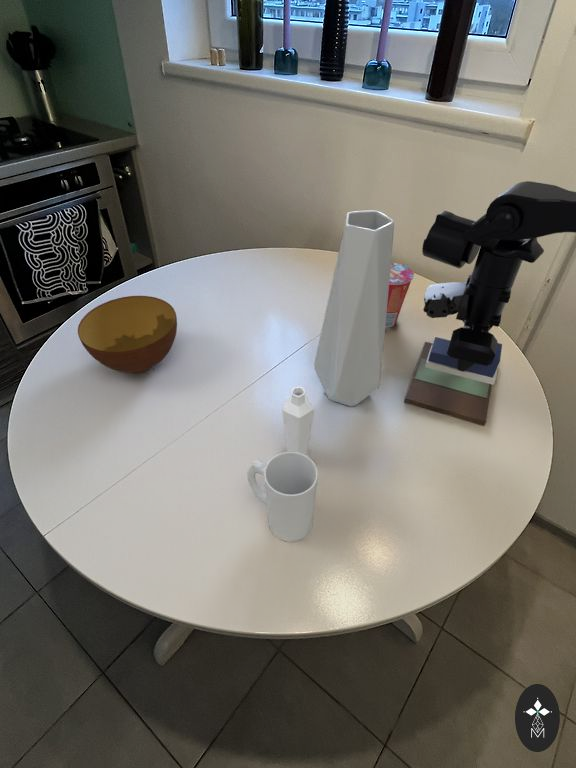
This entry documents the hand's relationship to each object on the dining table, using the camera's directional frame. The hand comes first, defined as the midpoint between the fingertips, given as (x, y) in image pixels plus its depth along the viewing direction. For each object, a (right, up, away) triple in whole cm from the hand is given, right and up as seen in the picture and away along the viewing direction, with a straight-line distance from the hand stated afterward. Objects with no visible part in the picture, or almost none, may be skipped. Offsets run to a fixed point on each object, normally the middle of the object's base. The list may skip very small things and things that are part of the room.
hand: (462, 361), depth 75 cm
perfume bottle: (-27, -16, -2) cm, 32 cm away
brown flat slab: (+2, -3, +11) cm, 12 cm away
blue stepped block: (0, -1, +1) cm, 1 cm away
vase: (-17, -5, +10) cm, 21 cm away
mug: (-30, -23, -9) cm, 39 cm away
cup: (-8, +10, +26) cm, 28 cm away
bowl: (-59, 0, +16) cm, 61 cm away
